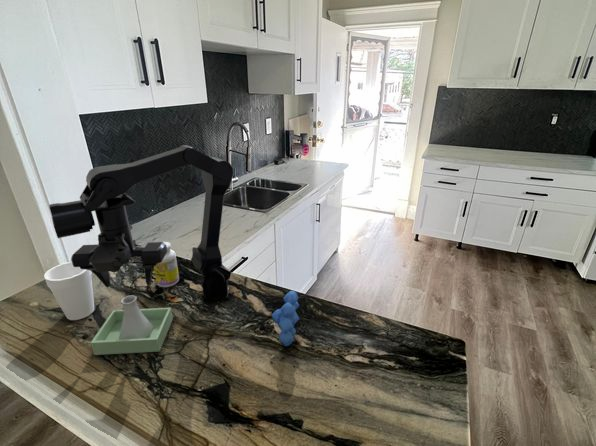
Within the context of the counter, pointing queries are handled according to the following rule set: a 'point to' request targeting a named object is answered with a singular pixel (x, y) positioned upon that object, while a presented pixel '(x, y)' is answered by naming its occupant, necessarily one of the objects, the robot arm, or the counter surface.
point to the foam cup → (71, 290)
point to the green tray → (111, 343)
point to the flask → (134, 320)
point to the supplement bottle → (167, 269)
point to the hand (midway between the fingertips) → (128, 285)
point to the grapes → (287, 318)
